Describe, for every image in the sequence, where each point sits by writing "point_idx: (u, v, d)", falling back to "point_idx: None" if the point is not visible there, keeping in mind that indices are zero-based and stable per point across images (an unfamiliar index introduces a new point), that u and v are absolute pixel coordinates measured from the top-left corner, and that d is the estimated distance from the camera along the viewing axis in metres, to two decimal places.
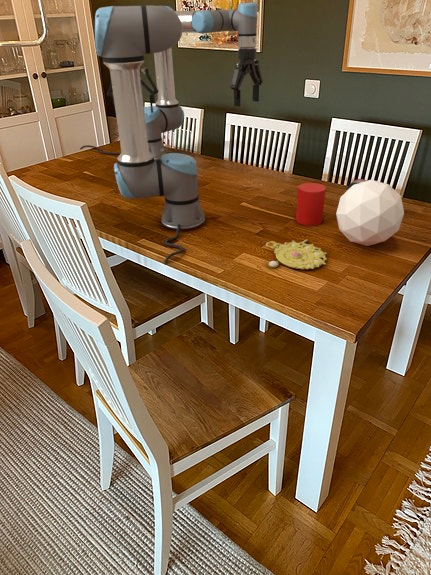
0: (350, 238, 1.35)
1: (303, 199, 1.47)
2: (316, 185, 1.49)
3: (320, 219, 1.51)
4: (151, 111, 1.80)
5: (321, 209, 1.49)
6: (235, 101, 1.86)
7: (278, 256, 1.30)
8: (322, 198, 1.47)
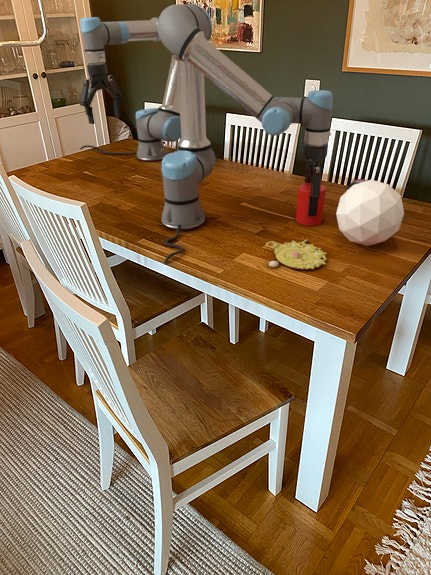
0: (350, 238, 1.35)
1: (303, 199, 1.47)
2: None
3: (320, 219, 1.51)
4: (308, 214, 1.48)
5: (320, 209, 1.49)
6: (89, 118, 1.78)
7: (278, 256, 1.30)
8: (322, 198, 1.47)
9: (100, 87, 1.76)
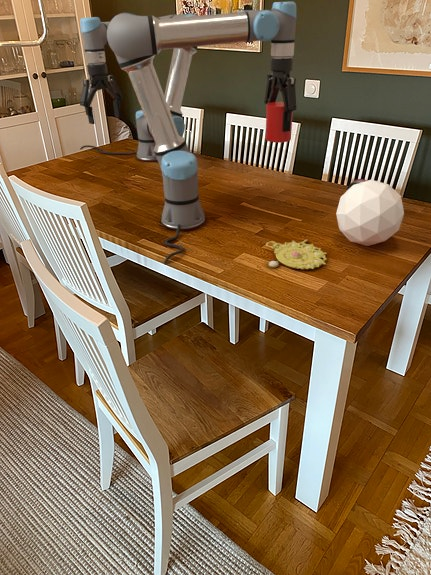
0: (350, 238, 1.35)
1: (277, 115, 1.51)
2: (281, 102, 1.55)
3: None
4: None
5: (291, 124, 1.55)
6: (89, 118, 1.78)
7: (278, 256, 1.30)
8: (292, 112, 1.53)
9: (100, 87, 1.76)
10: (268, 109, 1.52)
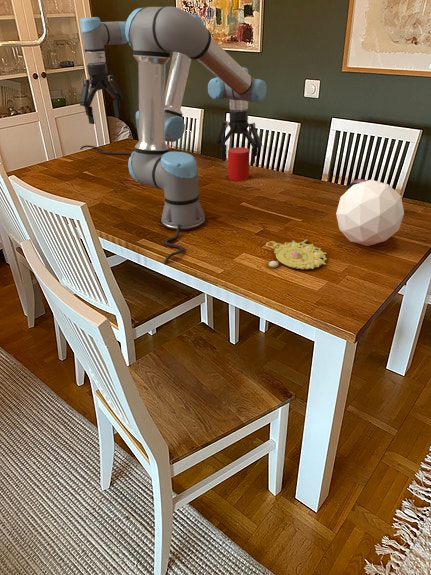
0: (350, 238, 1.35)
1: (243, 159, 1.86)
2: (236, 148, 1.90)
3: None
4: (251, 163, 1.87)
5: None
6: (89, 118, 1.78)
7: (278, 256, 1.30)
8: None
9: (100, 87, 1.76)
10: (234, 156, 1.86)
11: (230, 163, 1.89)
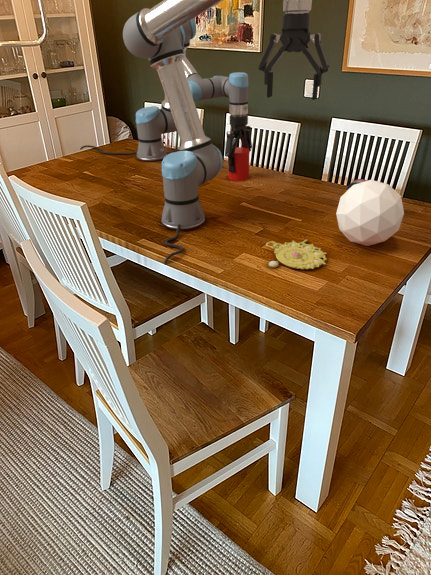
0: (350, 238, 1.35)
1: (243, 159, 1.86)
2: (236, 148, 1.90)
3: None
4: (312, 97, 1.26)
5: None
6: (230, 167, 1.89)
7: (278, 256, 1.30)
8: None
9: (239, 136, 1.84)
10: (234, 156, 1.86)
11: None
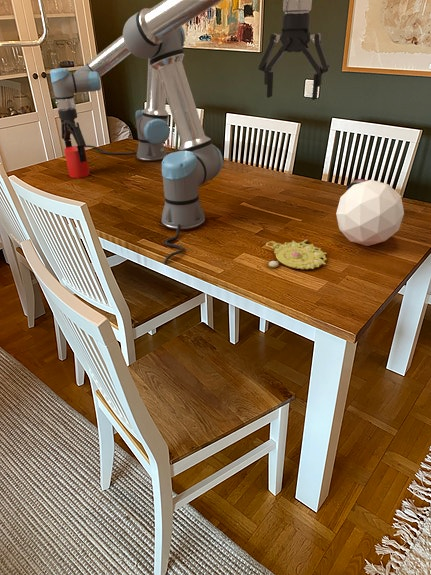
0: (350, 238, 1.35)
1: (65, 155, 1.98)
2: None
3: (77, 174, 1.99)
4: (312, 97, 1.26)
5: (75, 166, 1.97)
6: None
7: (278, 256, 1.30)
8: (74, 157, 1.95)
9: (67, 129, 1.93)
10: None
11: None
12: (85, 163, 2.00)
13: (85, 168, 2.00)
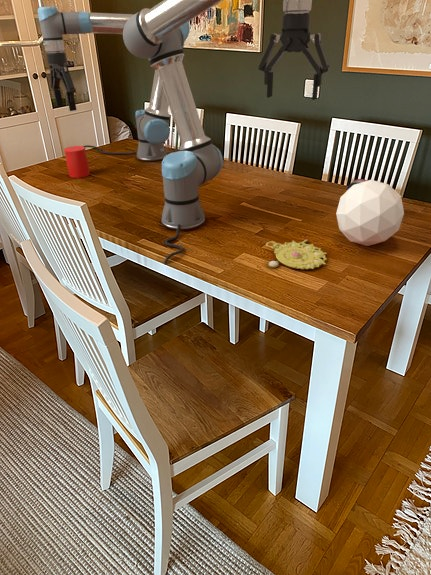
0: (350, 238, 1.35)
1: (65, 155, 1.98)
2: (79, 148, 1.98)
3: (77, 174, 1.99)
4: (312, 97, 1.26)
5: (75, 166, 1.97)
6: None
7: (278, 256, 1.30)
8: (74, 157, 1.95)
9: (56, 75, 1.81)
10: None
11: None
12: (85, 163, 2.00)
13: (85, 168, 2.00)
